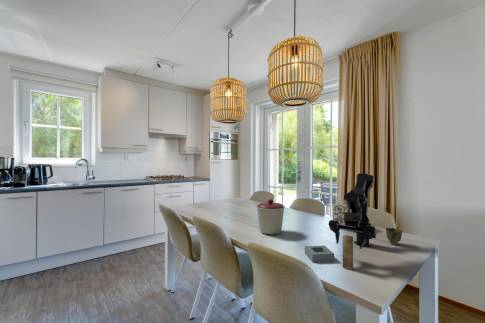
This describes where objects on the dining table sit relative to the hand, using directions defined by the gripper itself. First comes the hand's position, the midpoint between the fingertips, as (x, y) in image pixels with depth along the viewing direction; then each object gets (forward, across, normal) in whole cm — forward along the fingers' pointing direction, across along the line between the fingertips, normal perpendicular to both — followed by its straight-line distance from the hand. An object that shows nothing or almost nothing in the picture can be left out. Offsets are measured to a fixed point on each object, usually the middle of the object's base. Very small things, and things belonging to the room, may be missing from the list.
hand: (348, 245), depth 98 cm
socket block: (+5, -13, +8) cm, 16 cm away
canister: (-9, -50, +22) cm, 55 cm away
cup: (-24, +14, +36) cm, 46 cm away
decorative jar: (-37, -15, +49) cm, 63 cm away
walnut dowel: (+7, 0, +6) cm, 9 cm away
